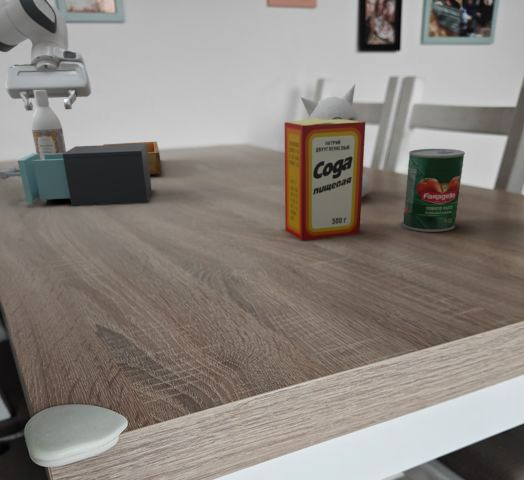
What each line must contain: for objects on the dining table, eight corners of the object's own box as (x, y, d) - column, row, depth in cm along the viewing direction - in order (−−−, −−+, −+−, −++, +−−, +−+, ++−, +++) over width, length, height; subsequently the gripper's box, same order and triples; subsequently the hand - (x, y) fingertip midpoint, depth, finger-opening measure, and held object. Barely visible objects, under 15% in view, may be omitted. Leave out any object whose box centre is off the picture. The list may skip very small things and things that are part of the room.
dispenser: (71, 205, 107) (62, 153, 103) (83, 193, 119) (75, 146, 114) (147, 202, 109) (141, 150, 104) (151, 190, 120) (146, 143, 116)
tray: (106, 163, 161) (103, 142, 158) (158, 160, 163) (156, 139, 161) (99, 180, 134) (95, 155, 131) (162, 176, 136) (159, 152, 134)
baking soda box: (339, 223, 89) (343, 116, 82) (359, 233, 83) (365, 119, 76) (285, 230, 86) (284, 119, 79) (302, 240, 81) (302, 122, 74)
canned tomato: (429, 235, 82) (438, 157, 77) (392, 224, 88) (397, 151, 83) (466, 226, 85) (476, 151, 80) (427, 217, 91) (434, 147, 86)
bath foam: (37, 180, 136) (19, 91, 127) (46, 176, 142) (29, 90, 133) (66, 179, 136) (50, 90, 127) (73, 175, 142) (58, 89, 133)
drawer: (1, 203, 106) (-9, 161, 103) (17, 192, 117) (9, 153, 113) (97, 199, 108) (90, 157, 105) (105, 188, 118) (99, 150, 115)
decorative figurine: (303, 208, 100) (304, 86, 91) (284, 193, 113) (283, 85, 104) (380, 202, 103) (388, 83, 94) (353, 188, 115) (358, 82, 107)
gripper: (2, 55, 137) (-1, 99, 132) (86, 53, 139) (86, 97, 134) (11, 75, 143) (9, 118, 138) (92, 73, 145) (92, 115, 140)
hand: (48, 108), depth 136 cm, fingers open, 8 cm apart
